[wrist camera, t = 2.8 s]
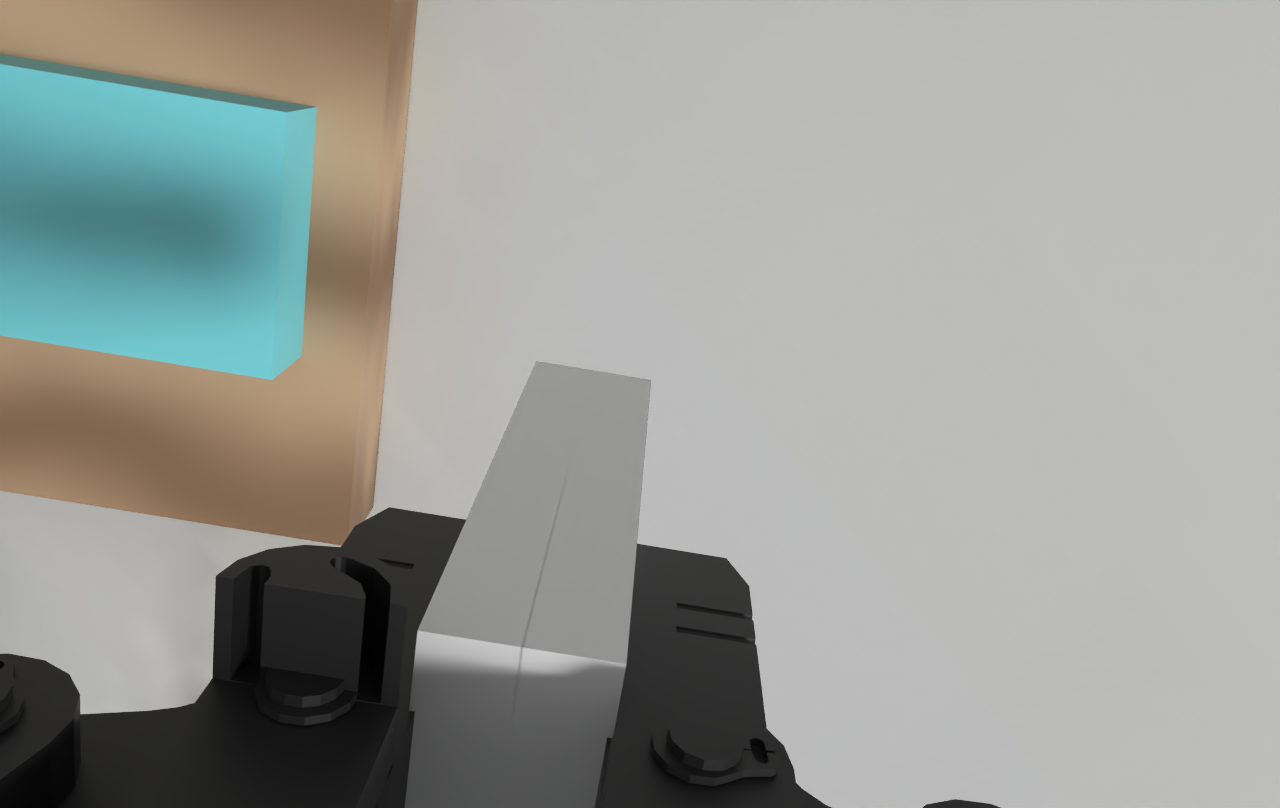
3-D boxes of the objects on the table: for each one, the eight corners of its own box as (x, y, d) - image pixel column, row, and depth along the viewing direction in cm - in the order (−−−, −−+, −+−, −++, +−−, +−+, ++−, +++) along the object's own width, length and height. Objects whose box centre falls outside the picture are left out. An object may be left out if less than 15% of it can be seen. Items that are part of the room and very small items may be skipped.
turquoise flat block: (301, 355, 26) (272, 379, 24) (-64, 296, 26) (-121, 315, 24) (316, 107, 24) (286, 112, 23) (-77, 40, 24) (-141, 40, 22)
